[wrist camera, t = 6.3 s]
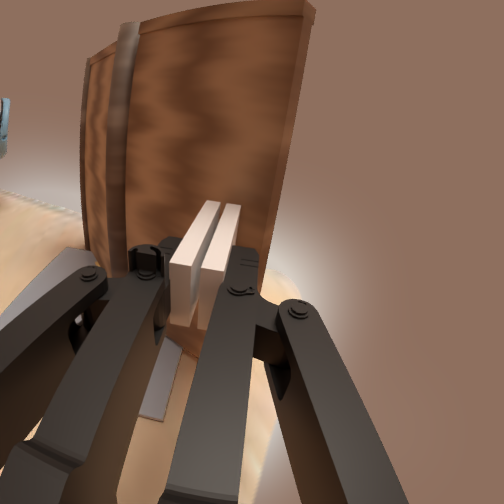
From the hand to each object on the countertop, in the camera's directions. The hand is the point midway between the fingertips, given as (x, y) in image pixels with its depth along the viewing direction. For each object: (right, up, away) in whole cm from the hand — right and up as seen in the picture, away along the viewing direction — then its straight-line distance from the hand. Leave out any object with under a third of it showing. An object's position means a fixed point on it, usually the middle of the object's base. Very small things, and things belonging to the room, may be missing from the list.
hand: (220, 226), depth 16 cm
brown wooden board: (-5, -9, +8) cm, 13 cm away
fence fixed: (-16, -4, +16) cm, 23 cm away
